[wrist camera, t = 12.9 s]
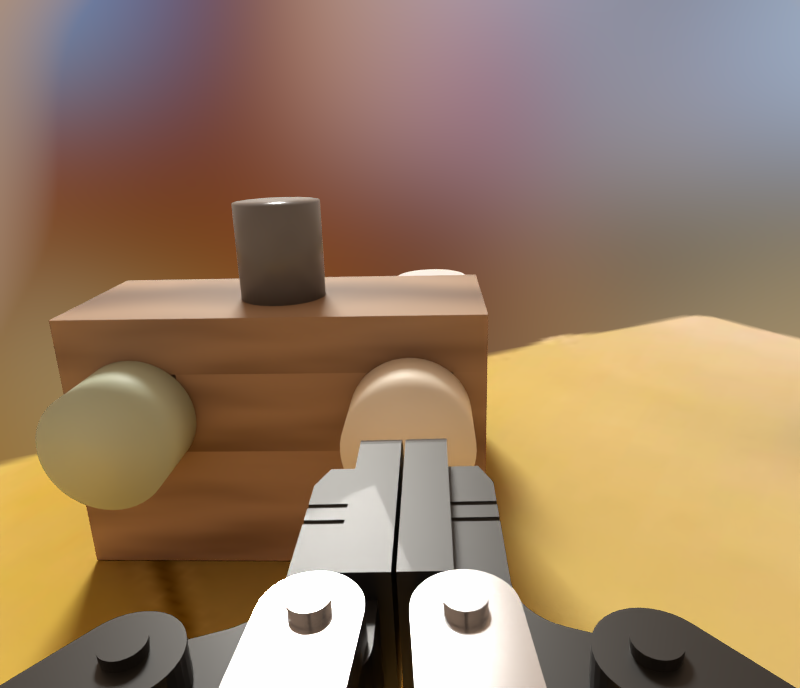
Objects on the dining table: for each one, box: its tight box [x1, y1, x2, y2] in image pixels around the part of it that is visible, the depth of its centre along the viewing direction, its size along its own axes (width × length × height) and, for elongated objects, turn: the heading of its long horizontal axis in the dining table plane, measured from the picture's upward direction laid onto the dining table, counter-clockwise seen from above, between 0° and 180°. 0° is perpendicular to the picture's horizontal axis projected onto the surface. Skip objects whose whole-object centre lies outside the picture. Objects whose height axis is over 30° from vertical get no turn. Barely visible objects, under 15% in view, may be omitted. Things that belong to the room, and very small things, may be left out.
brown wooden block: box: [49, 275, 488, 561], centre depth 30 cm, size 7×17×11 cm, turn 87°
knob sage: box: [36, 361, 196, 510], centre depth 29 cm, size 12×5×5 cm, turn 177°
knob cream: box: [340, 358, 477, 469], centre depth 28 cm, size 12×5×5 cm, turn 177°
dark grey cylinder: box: [232, 197, 326, 306], centre depth 28 cm, size 4×4×4 cm
